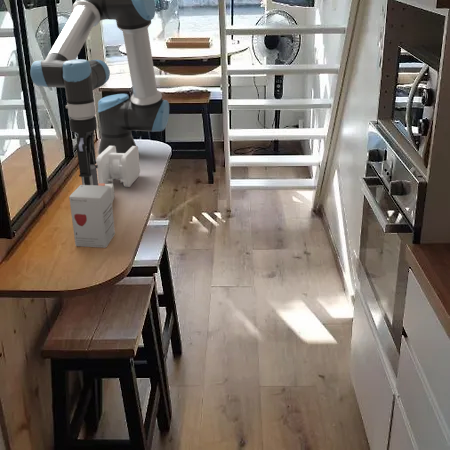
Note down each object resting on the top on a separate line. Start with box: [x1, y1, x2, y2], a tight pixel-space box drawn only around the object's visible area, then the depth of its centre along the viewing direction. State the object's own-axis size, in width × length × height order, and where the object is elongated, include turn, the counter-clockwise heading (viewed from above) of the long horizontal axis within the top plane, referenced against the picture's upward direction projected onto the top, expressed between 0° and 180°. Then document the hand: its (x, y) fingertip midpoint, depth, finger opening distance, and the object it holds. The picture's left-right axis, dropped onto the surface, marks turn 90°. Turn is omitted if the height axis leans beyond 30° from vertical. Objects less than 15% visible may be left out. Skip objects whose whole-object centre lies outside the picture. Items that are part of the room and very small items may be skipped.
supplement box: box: [68, 184, 116, 249], centre depth 167 cm, size 9×9×15 cm
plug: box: [81, 164, 99, 185], centre depth 181 cm, size 5×5×10 cm
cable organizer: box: [96, 145, 141, 188], centre depth 208 cm, size 15×11×12 cm
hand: (91, 192), depth 182 cm, fingers closed on plug, 4 cm apart
